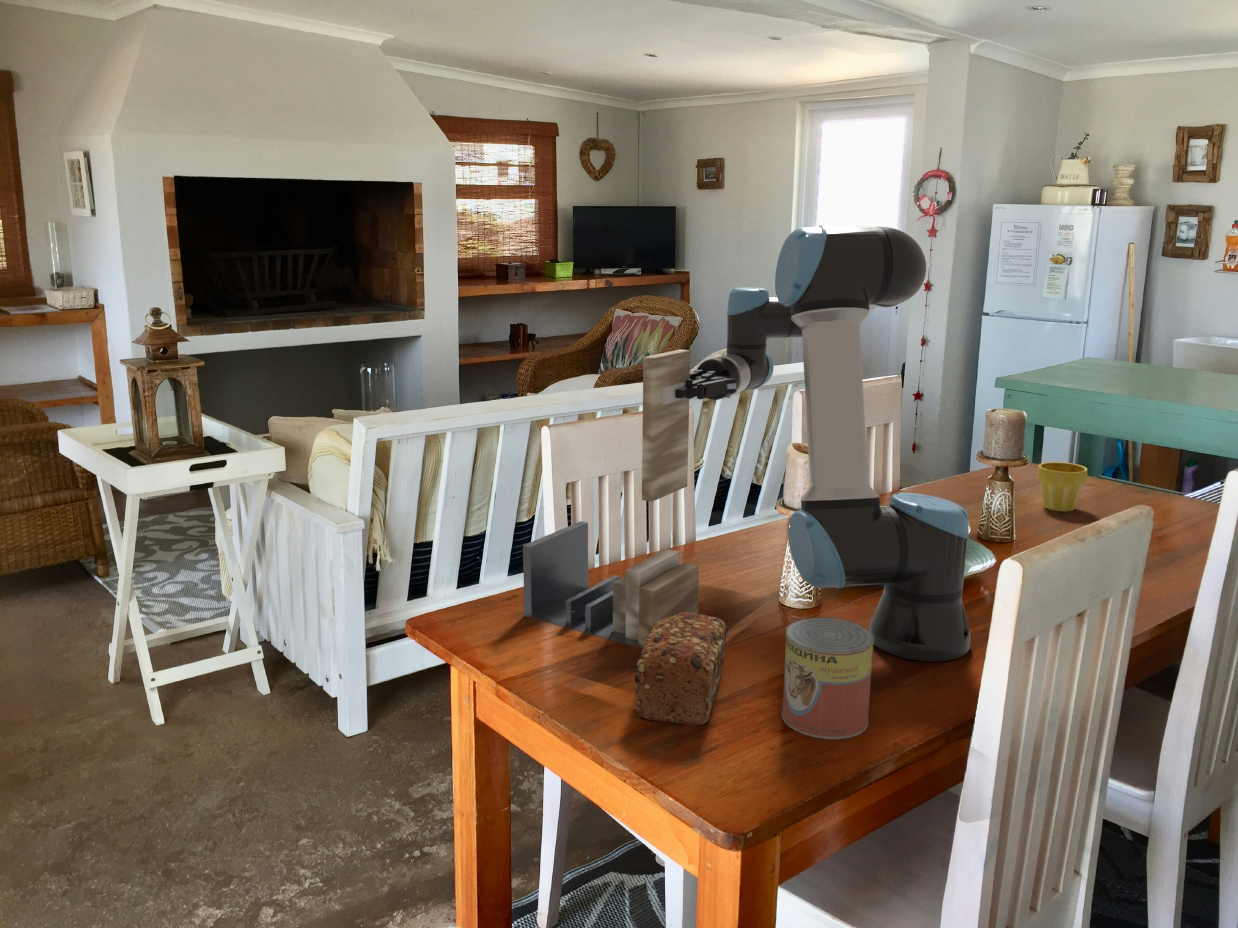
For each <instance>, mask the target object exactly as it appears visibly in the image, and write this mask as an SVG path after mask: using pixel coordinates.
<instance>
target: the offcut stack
mask: <svg viewBox="0 0 1238 928" xmlns="http://www.w3.org/2000/svg"><path fill="white" fill-rule="evenodd" d="M680 553H681V552H680V550H679V551H678V550H674V549H669V548H665V549H663V550H661V551H658V552H657V553H655V554H654V555H652V556H649V557H647V558H645V559H644V560H642V561H640V562H638V563H636V564H634V565H632V566H630V567H629V568H626V569H625V575H624V576H622V577H621V578H619V580H617V581H615V582H613V631H616V632H620V633H624V634H626V637H627V638H631V639H635V640H638V641H639V644H641V645H642V644H643V643H645V640H646V638H647V635H648V634H649V631H650V629H651V628H652V627H653V626H654V624H655V623H656V622H657V621H658V620H661V619H663V618H666V617H668V616H670V615H671V614H673V613H675V612H685V613H687V612H689V613H696V614H699V611H698V610H699V579H700V578H699V575H700V572H699V571H700V564H695V563H691V562H687V561H685V562H683V563H681V564H680V556H681V555H680Z"/></svg>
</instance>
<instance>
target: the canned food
mask: <svg viewBox="0 0 1238 928" xmlns="http://www.w3.org/2000/svg"><path fill="white" fill-rule="evenodd" d="M873 643H874V636H873V634H872V633H871V632H870V629H868V628H867V627H866V626H863V625H861V624H859V623H856V622H854V621H851V620H847V619H841V618H836V617H835V618H834V617H826V616H825V617H823V616H822V617H821V616H820V617H819V616H818V617H808V618H802V619H798V620H795V621H793V622H792V623H790V624H789V625H788V626H787V627H786V629H785V653H784V655H785V656H784V675H783V693H782V694H783V696H782V710H781V718H782V720H783V721H784V723H785V724H786V725H787V726H788V727H789V728H791V729H793V730H794V731H796V732H798V733H800V734H803V735H805V736H808V737H812V738H817V739H824V740H841V739H842V740H844V739H849V738H854V737H856V736H858V735H861V734H862V733H863V732H865V731H866V730H867V728H868V726H869V709H870V707H869V706H870V695H871V680H872V665H873V653H874V652H873V651H874V644H873Z"/></svg>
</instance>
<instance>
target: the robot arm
mask: <svg viewBox="0 0 1238 928" xmlns="http://www.w3.org/2000/svg"><path fill="white" fill-rule="evenodd" d="M926 274H927V262H926V256H925V254H924V252H923V250H922V247H921V246H920V244H919V243H918V242H917V241H916V240H915V239H914V238H913V237H911V236H910V235H909V234H908V233H906V232H904V231H902V230H899V229H897V228H893V227H888V226H841V225H839V226H836V225H834V226H833V225H831V226H830V225H819V226H810V227H800V228H797V229H795V230H793V231H791V233H789V235H788V236H787V237H786V239H785V240H784V242H783V244H782V247H781V250H780V253H779V255H778V258H777V263H776V268H775V273H774V275H775V276H774V277H775V278H774V287H775V288H774V289H775V290H774V291H775V295H776V297H770V295H769V291H768V289H767V288H765V287H735V288H733V289H731V290H730V291H729V295H728V300H727V302H728V303H727V311H726V315H727V319H726V320H727V322H726V325H727V326H726V329H727V330H726V352H725V354H724V355H720V356H717V357H714V358H709V359H706V360H703V362H701V363H700V364H699V365H698V366H697V368H696V369H695V370H693V371H690V379H688V380H687V379H686V387H685V383H678V384H674V385H670V386H666V387H662V388H661V404H668V403H672V402H675V401H679V400H682V399H684V397H686V398H688V399H689V400H691V399H694V398H696V399H698V400H703V399H708V400H712V401H718V400H723V399H725V398H726V399H731V398H732V396H734V395H736V394H737V395H738V394H740V393H743V392H748V391H753V390H757V389H758V388H760V387H762V386H764V385H765V384H767V383H768V382H769V381H770V380H771V378H772V376H773V373H774V368H775V367H774V362H773V359H772V357H771V356H770V354H769V353H768V352H767V342H768V341H767V340H768V339H777V338H778V339H779V338H781V339H783V338H801V339H802V341H801V342H802V359H803V375H804V394H805V395H804V397H805V413H806V416H805V417H806V431H807V433H806V434H807V435H806V437H807V450H808V451H807V453H808V471H809V473H808V474H809V487H808V489H807V491H806V492H805V493H804V494H803V495H802V497H801V498H800V508H801V509H798V510H797V511H796V512H795V511H794V512H793V513H792V514H791V515H790V517H789V520H788V523H789V525H788V528H787V537H788V538H787V539H788V545H789V549H790V554H791V557H792V561H793V562H794V566H795V568H796V570H797V571H798V573H799V575H800V576H801V578H802V579H803V580H804V582H805V583H807V584H808V585H809V586H812V587H813V588H835V589H842V588H843V587H855V586H856V587H857V586H868V585H869V586H870V585H871V586H872V585H882V584H883V585H884V586H883V591H882V595H881V597H880V599H879V602H878V604H877V607H876V609H875V611H874V614H873V617H871V619H870V621H869V631H870V632H871V633H872V634H873V636H874V643H873V646H875V647H876V648H878V649H879V650H881V651H883V652H885V653H887V654H891V655H893V656H896V657H899V658H903V659H907V660H914V661H920V662H947V661H952V660H956V659H960V658H962V657H964V656H965V655H967V653H968V652H969V651H970V648H971V647H970V645H971V631H970V628H969V621H968V618H967V615H966V611H965V607H964V603H963V592H964V590H963V589H964V578H965V568H966V558H967V549H968V539H970V534H969V515H968V512H967V511H966V509H965V508H964V507H962V506H961V505H959V504H958V503H955V502H953V501H951V500H948V499H944V498H941V497H937V496H933V495H928V494H922V493H914V492H897V493H893V494H892V495H891V496H890V498H889V500H888V504H889V505H887V506H881V503H880V494H878V492H876V491H875V490H874V488H872V487H871V486H870V484H869V475H868V473H869V472H868V471H869V470H868V455H867V437H866V422H865V421H866V419H865V418H866V417H865V403H864V402H865V399H864V383H863V382H864V381H863V380H864V379H863V363H862V348H861V347H862V345H861V343H862V342H861V329H860V328H861V327H860V326H861V324H862V323H863V322H864V320H865V319H866V318H867V317H868V316H870V311H872V310H874V309H877V308H878V307H879V308H892V307H895V306H897V305H899V304H902V303H904V302H906V301H908V300H910V299H911V298H912V297H914V295H916V294H917V292H919V290H920V289H921V287H922V285H923V284H924V282H925V279H926V276H927V275H926Z"/></svg>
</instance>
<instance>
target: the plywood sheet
mask: <svg viewBox="0 0 1238 928" xmlns="http://www.w3.org/2000/svg"><path fill="white" fill-rule="evenodd" d="M642 362H643V363H642V369H643V370H642V374H643V375H642V437H641V438H642V442H641V444H642V447H641V448H642V449H641V450H642V451H641V452H642V453H641V455H642V456H641V464H642V465H641V500H642V501H645V502H651V503H652V502H655V501H657V500H659V499H662V498H664V497H666V496H668V495H670V494H674V493H675V492H677V491H681V490H682V489H684V488H687V487H688V472H689V471H688V470H689V433H690V432H689V427H690V425H689V424H690V423H689V422H690V399H688V398H686V397H684V399H682V400H679V401H675V402H672V403H668V404H661V388H662V387H666V386H670V385H674V384H678V383H685V387H686V379H687V380H688V379H690V373H691V350H689V349H677V350H676V349H675V350H672V351H671V350H670V351H666V352H662V353H657V354H653V355H652V354H651V355H648V356H643V361H642Z"/></svg>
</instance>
